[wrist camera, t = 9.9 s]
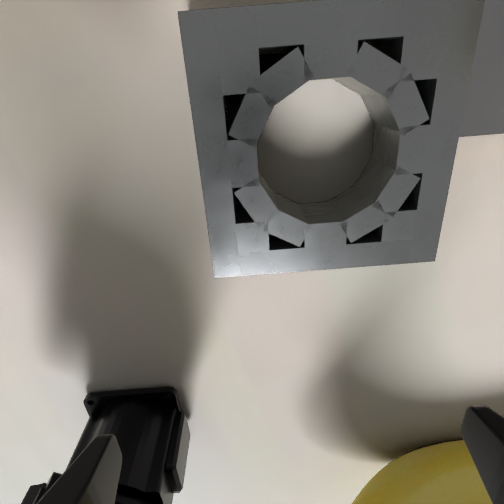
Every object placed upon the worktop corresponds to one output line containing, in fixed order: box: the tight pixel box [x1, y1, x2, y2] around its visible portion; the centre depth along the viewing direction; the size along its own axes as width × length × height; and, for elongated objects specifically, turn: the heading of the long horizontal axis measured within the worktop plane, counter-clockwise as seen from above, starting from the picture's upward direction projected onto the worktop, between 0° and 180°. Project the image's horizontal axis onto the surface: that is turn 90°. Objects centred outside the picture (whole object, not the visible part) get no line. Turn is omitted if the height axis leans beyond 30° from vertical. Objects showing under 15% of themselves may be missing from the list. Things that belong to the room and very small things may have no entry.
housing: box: [178, 0, 485, 278], centre depth 16 cm, size 11×11×3 cm
